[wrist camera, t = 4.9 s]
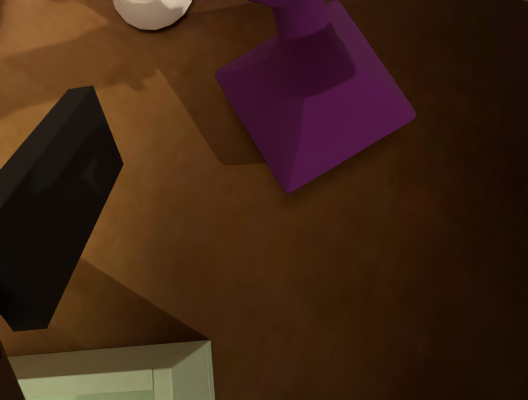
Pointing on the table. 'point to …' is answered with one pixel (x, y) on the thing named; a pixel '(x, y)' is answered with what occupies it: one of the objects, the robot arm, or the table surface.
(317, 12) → the perfume bottle
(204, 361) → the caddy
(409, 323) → the table surface
